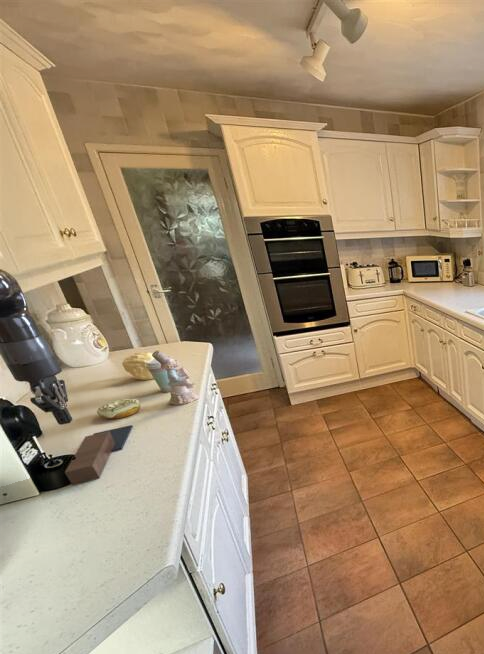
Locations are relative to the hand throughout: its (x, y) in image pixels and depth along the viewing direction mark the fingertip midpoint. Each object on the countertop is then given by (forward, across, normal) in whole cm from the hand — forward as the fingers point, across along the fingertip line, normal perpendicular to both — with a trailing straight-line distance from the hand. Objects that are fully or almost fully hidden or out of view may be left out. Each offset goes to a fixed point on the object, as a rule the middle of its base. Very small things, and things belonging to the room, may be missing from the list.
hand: (66, 422), depth 97 cm
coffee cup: (+14, -55, +11) cm, 58 cm away
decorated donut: (+14, -39, -1) cm, 42 cm away
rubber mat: (+14, -17, 0) cm, 22 cm away
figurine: (+14, -39, +16) cm, 44 cm away
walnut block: (+12, +6, 0) cm, 14 cm away
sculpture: (+14, -77, +2) cm, 78 cm away
